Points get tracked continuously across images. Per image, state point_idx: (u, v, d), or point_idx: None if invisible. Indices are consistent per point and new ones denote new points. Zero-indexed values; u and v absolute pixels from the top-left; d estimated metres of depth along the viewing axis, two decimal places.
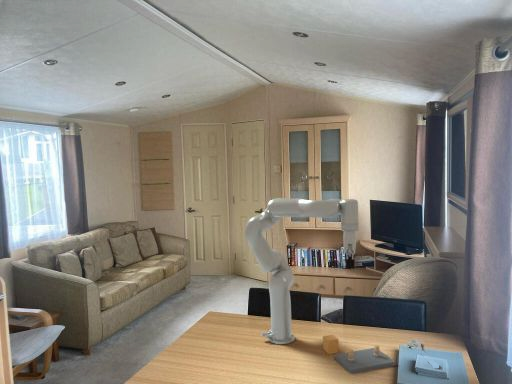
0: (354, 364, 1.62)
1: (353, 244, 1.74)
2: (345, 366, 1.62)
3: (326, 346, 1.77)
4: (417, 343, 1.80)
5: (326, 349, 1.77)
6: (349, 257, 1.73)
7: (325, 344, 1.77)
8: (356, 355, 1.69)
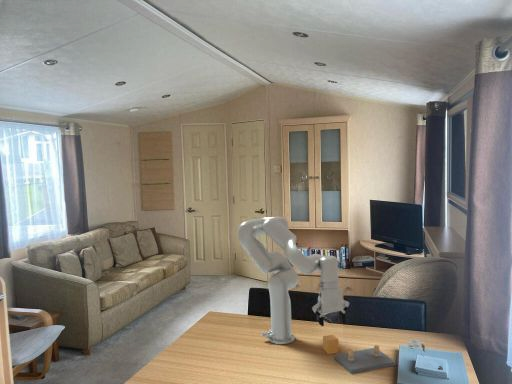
0: (354, 364, 1.62)
1: None
2: (345, 366, 1.62)
3: (326, 346, 1.77)
4: (418, 343, 1.80)
5: (326, 349, 1.77)
6: None
7: (325, 344, 1.77)
8: (356, 355, 1.69)
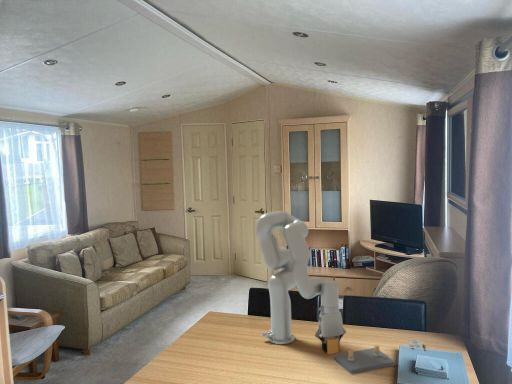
0: (354, 364, 1.62)
1: None
2: (345, 366, 1.62)
3: None
4: (419, 344, 1.80)
5: None
6: None
7: None
8: (356, 355, 1.69)
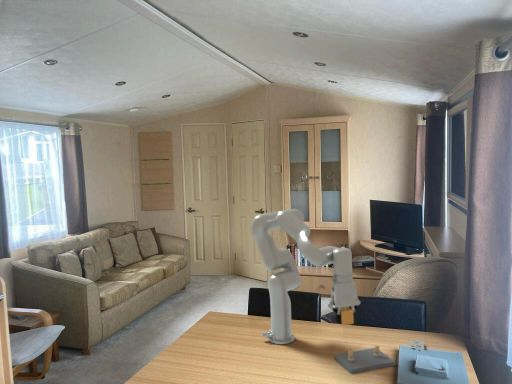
0: (354, 364, 1.62)
1: None
2: (345, 366, 1.62)
3: None
4: (420, 344, 1.79)
5: None
6: None
7: None
8: (356, 355, 1.69)
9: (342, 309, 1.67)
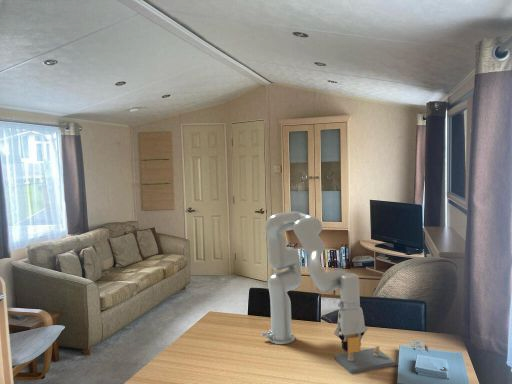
0: (354, 364, 1.62)
1: None
2: (345, 366, 1.62)
3: None
4: (421, 344, 1.79)
5: None
6: None
7: None
8: (356, 355, 1.69)
9: (348, 336, 1.64)
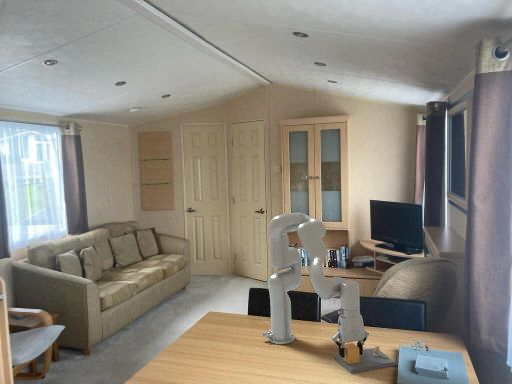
0: (354, 364, 1.62)
1: None
2: (345, 366, 1.62)
3: (346, 356, 1.64)
4: (421, 344, 1.79)
5: (346, 359, 1.64)
6: None
7: (345, 353, 1.64)
8: None
9: (348, 347, 1.64)
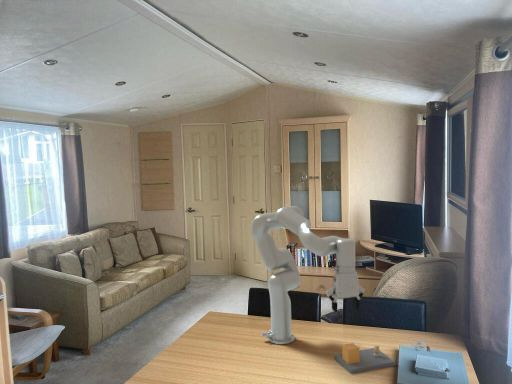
0: (354, 364, 1.62)
1: None
2: (345, 366, 1.62)
3: (346, 356, 1.64)
4: (423, 345, 1.78)
5: (346, 359, 1.64)
6: None
7: (345, 353, 1.64)
8: None
9: (348, 347, 1.64)
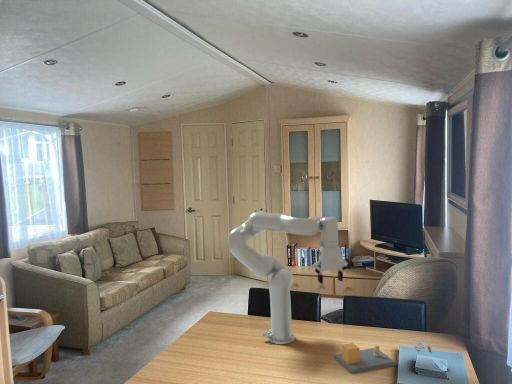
0: (354, 364, 1.62)
1: None
2: (345, 366, 1.62)
3: (346, 356, 1.64)
4: (424, 345, 1.78)
5: (346, 359, 1.64)
6: None
7: (345, 353, 1.64)
8: None
9: (348, 347, 1.64)
